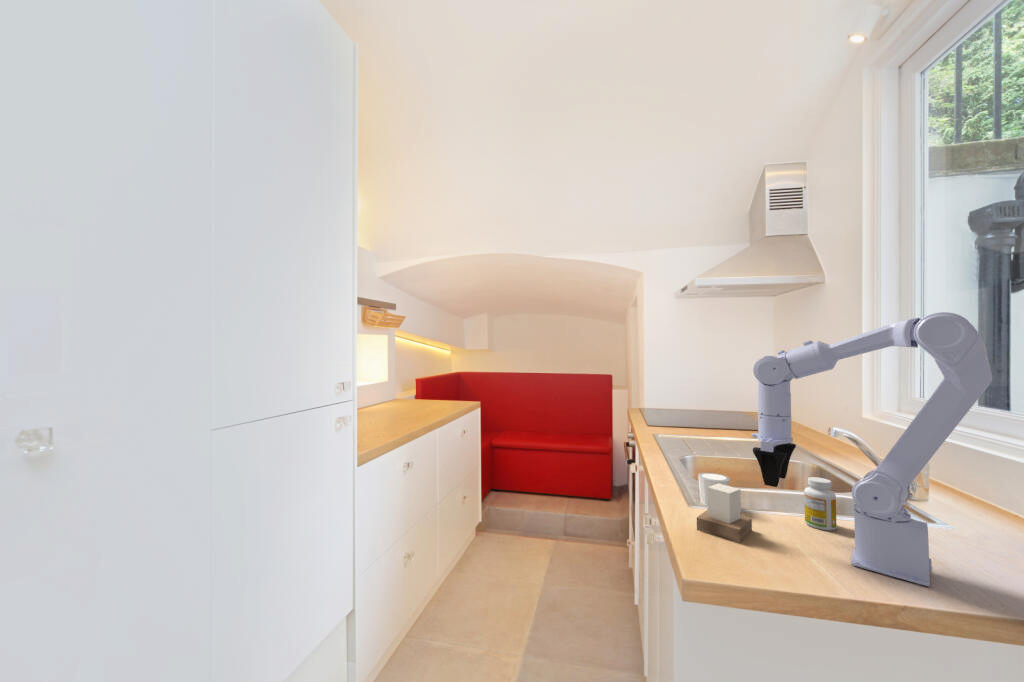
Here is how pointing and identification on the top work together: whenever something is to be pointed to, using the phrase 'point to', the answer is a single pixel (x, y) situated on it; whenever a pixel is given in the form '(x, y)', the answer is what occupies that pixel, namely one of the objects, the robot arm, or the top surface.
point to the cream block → (724, 503)
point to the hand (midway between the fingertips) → (775, 481)
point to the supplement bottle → (820, 504)
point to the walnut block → (725, 527)
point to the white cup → (709, 484)
